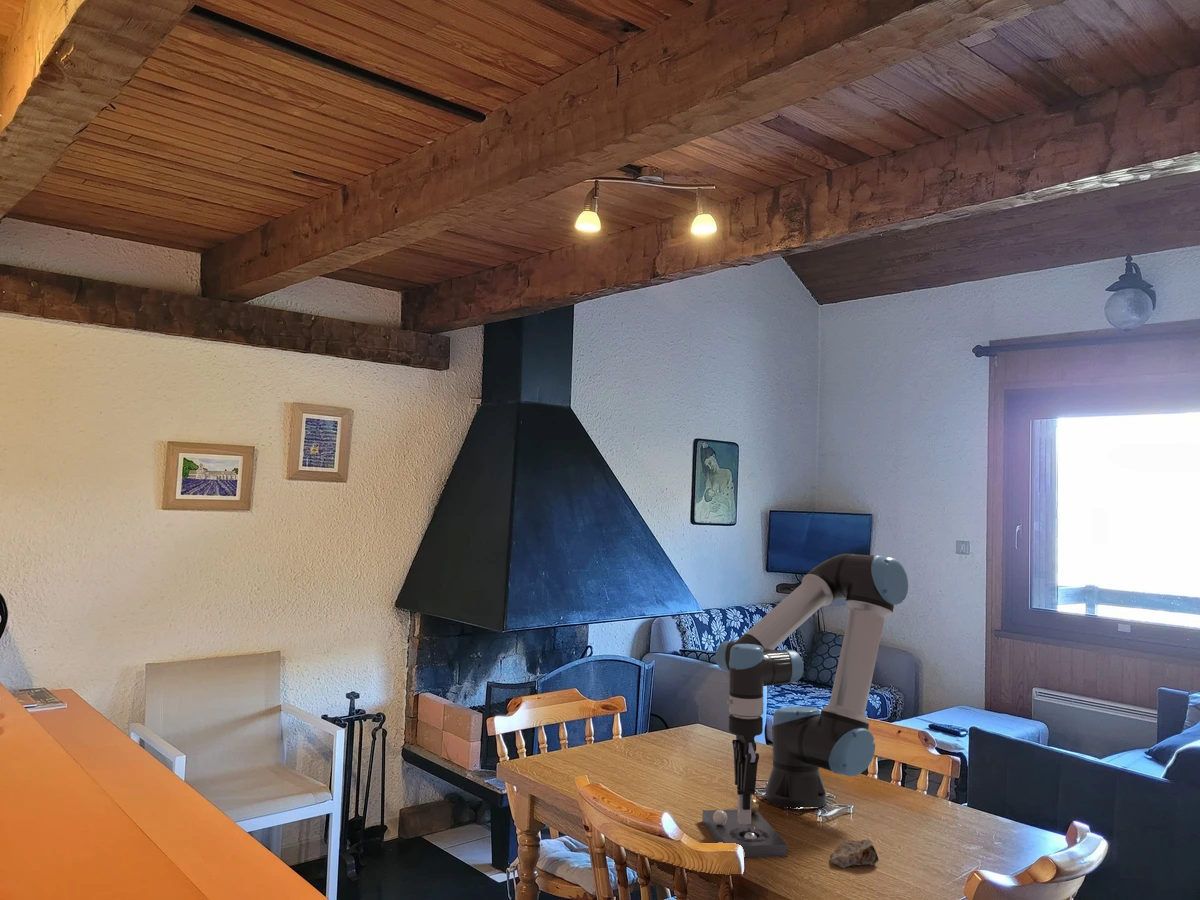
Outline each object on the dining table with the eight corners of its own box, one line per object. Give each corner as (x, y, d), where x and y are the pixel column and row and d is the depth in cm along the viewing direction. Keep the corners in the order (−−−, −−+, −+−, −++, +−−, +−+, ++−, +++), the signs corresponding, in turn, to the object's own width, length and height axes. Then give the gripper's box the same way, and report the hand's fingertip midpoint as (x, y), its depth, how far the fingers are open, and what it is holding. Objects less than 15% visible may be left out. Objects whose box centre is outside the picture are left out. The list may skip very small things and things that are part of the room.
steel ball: (752, 830, 195) (763, 838, 193) (746, 844, 195) (756, 852, 192) (743, 828, 193) (754, 835, 191) (737, 842, 193) (748, 849, 191)
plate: (702, 821, 208) (702, 810, 209) (755, 819, 210) (755, 809, 210) (727, 858, 187) (727, 846, 187) (786, 856, 188) (787, 844, 188)
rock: (870, 855, 191) (824, 844, 192) (877, 831, 190) (831, 820, 190) (878, 882, 182) (830, 870, 183) (885, 857, 181) (837, 845, 182)
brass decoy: (756, 810, 209) (756, 796, 210) (760, 815, 206) (760, 801, 206) (743, 810, 209) (743, 796, 209) (747, 815, 206) (747, 801, 206)
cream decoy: (725, 822, 201) (725, 807, 201) (728, 827, 198) (729, 812, 198) (711, 822, 201) (711, 807, 201) (714, 827, 198) (715, 812, 198)
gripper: (722, 708, 204) (720, 812, 203) (737, 722, 191) (735, 833, 190) (753, 708, 205) (752, 812, 204) (771, 721, 192) (769, 833, 191)
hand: (744, 822), depth 197 cm, fingers closed
